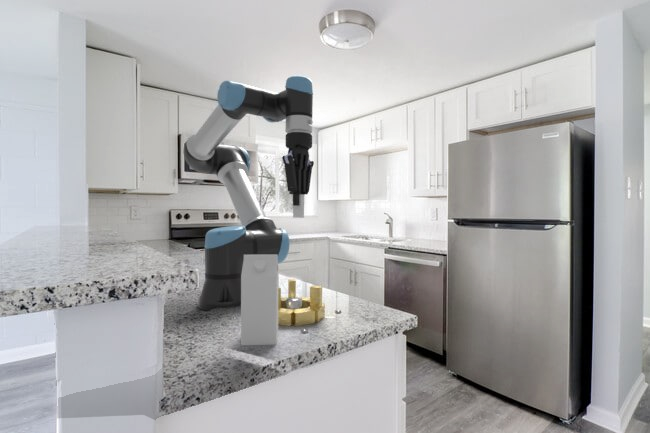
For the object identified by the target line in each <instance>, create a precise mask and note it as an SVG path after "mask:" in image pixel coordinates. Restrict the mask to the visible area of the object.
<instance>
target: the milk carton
mask: <svg viewBox="0 0 650 433" xmlns="http://www.w3.org/2000/svg"><path fill="white" fill-rule="evenodd" d="M279 273H280V272H279V263H278V255H244V261H243V267H242V274H241V306H240V346H265V345H266V346H268V345H271V346H272V345H277V342H278V336H279V325H278V287H279Z"/></svg>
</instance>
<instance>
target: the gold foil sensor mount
mask: <svg viewBox="0 0 650 433" xmlns="http://www.w3.org/2000/svg"><path fill="white" fill-rule="evenodd" d="M287 280H288V281H287V282H288V285H287V286H288V287H287V296H286V297H282V288H281V287H279V286H278V326H279V325H280V326H288V327H292V326H293V325H294V327H298V326H304V325H312V324H315V323H319V322H320V321H321V320H322V319H323V317H324V316H325V317H326V315H325V311H326V310H325V308H326V305H325V303H324V302H323V286H321V285H311V286H310V287H309V297H306V296H297V295H296V291H297V290H296V288H297V286H296V283H297V281H296V279H292V278H289V279H287ZM291 297H298V298H302V309H295V310H292V309H286V299H287V298H291Z"/></svg>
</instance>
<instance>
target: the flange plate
mask: <svg viewBox="0 0 650 433" xmlns="http://www.w3.org/2000/svg"><path fill="white" fill-rule="evenodd" d="M298 297H299V296H296V297H291V298H287V299H286V309H292V310H295V309H302V298H298ZM334 312H335V314H341V313H342V310H341V309H335V311H334ZM323 318H324V319H325V318H326V319H335V316H326V315H325V316H324V317H323ZM323 318H322V319H323ZM300 333H301V334H308V333H309V329H308V328H302V329H300Z"/></svg>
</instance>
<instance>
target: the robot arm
mask: <svg viewBox="0 0 650 433" xmlns="http://www.w3.org/2000/svg"><path fill="white" fill-rule="evenodd" d="M284 88H285V89H284V90H282V91H281V92H273V91H269V90H267V89H264V88H263V89H262V88H258V87H255V86H253V85H252V86H251V85H248V84H244V83H241V82H238V81H231V80H224V81H222V82H221V83H220V85H219V89H218V90H217V98H216V99H217V103H218V105H216V107H215V108H214V109H213V111H212V112H211V113H210V115H209V116H208V117H207V119H206V120H205V122H203V124H202V125H201V126H200V128H199V129H198V131H197V132H196V133H195V134H193V135H191V136H189V137H188V138H187V140H186V141H185V142H184V146H183V156H184V157H183V158H184V160H185V162H186V163H187V165H188V166H189V167H190V168H191V169H192V170H194V171H196V172H197V173H201V174H203V175H204V174H205V175H215V176H216V177H217V179H218V181H219V182H220V183H221V184H223V185H225V188H226V190H227V192H228V194H229V197H230V199H231V202H232V205H233V207H234V209H235V211H236V213H237V217H238V218H239V221H240V225H231V226H230V225H229V226H221V227H216V228H211V229H210V230H208V231H207V232H206V234H205V237H204V238H205V241H204V244H203V245H204V282H203V286H202V289H201V292H200V296H199V297H198V308H199V309H200V310H203V311H207V312H210V311H213V310H215V309H224V308H225V309H226V308H228V309H229V308H235V307H241V274H242V267H243V261H244V255H278V264H281V263H283V262H284V261H285V260H286V258H287V257H288V255H289V252H290V237H289V236H290V235H289V233H288V232H287V230H286V229H284V228H280V227H279V228H277V226H276V224H275V222H274V220H273V219H271V218H269V217H267V216H266V214H265V212H264V210H263V209H264V208H263V207H262V205H261V203H260V201H259V198H258V196H257V195H256V191H255V190H254V187H253V186H252V183H251V181H250V179H249V178H248V174H249V172H250V168H251V162H250V160H251V159H250V155H249V153H248V151H247V150H246V149H245V148H243V147H240V146H237V145H233V144H232V145H229V144H221V143H222V142H223V141H224V140H225V138H226V137H227V136H228V135H229V134H230V133H231V132H232V131H233V129H234V128H235V127H236V126H237V125H238V124H239V122H240V121H241V120H242V119H243V118H244V117H245V116H246V115H251V116H252V115H253V116H258V117H261V118H263V119H264V120H265V121H267V122H268V123H279V122H282V121H284V120H285V128H284V129H285V130H284V131H285V133H286V134H285V148H286V149H288V151H287V154H286V155H282V157H281V158H282V162H283V164H284V172H285V178H286V180H285V181H286V187H287V191H288V193H289V194H290V195H292V218H295V219H297V218H299V219H301V218H303V219H304V218H305V195H308V194H309V192H310V186H311V179H312V173H313V172H312V170H313V166H314V165H315V164H314V163H315V162H314V161H313V160H310V152H309V150H310V149H312V148H313V135H312V133H313V123H314V122H313V106H314V105H313V104H314V103H313V98H314V97H313V96H314V93H313V90H314V89H313V81H312V80H311V79H310V78H309V77H307V76H304V75H291V76H289V77H288V78H286V80H285V86H284Z"/></svg>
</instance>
